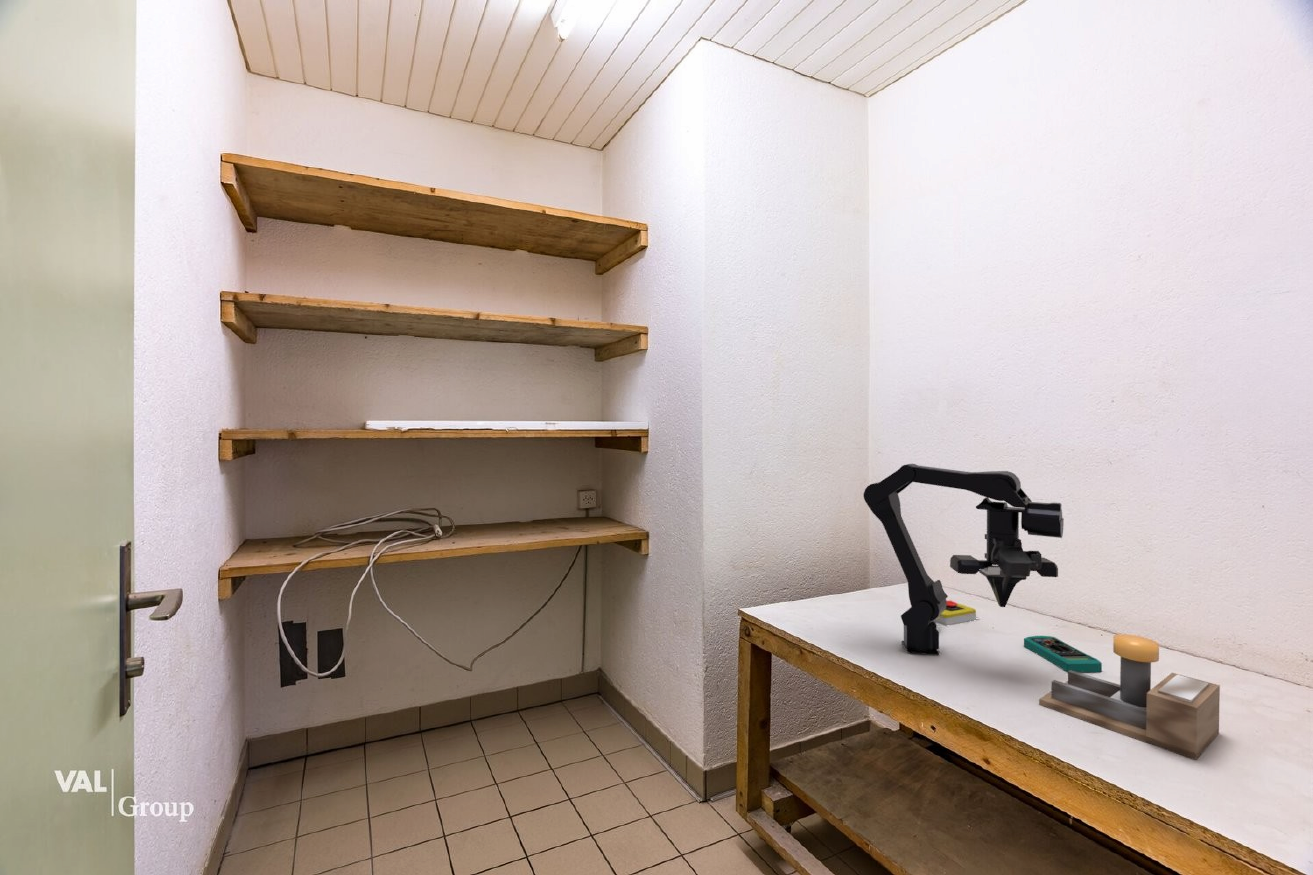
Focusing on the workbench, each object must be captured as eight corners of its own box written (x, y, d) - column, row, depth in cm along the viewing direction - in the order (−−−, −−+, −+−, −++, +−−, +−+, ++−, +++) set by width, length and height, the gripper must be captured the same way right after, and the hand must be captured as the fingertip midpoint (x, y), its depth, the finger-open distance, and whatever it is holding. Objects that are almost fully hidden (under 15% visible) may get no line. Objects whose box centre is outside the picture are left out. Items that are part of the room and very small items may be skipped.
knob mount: (1039, 704, 105) (1039, 658, 105) (1068, 685, 113) (1069, 642, 112) (1196, 760, 88) (1197, 705, 87) (1218, 733, 95) (1219, 682, 95)
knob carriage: (1107, 713, 100) (1107, 639, 99) (1119, 703, 103) (1120, 631, 103) (1151, 728, 95) (1152, 650, 94) (1163, 717, 98) (1164, 642, 98)
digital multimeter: (1052, 646, 133) (1052, 633, 133) (1103, 674, 118) (1103, 660, 118) (1021, 647, 133) (1021, 634, 133) (1068, 675, 118) (1068, 661, 118)
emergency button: (982, 604, 151) (939, 611, 145) (982, 621, 151) (939, 629, 145) (951, 594, 159) (910, 601, 154) (951, 610, 159) (910, 617, 154)
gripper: (967, 538, 114) (967, 617, 114) (1073, 541, 110) (1072, 622, 111) (949, 528, 125) (949, 600, 125) (1044, 530, 121) (1044, 604, 122)
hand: (1002, 606), depth 120 cm, fingers closed
